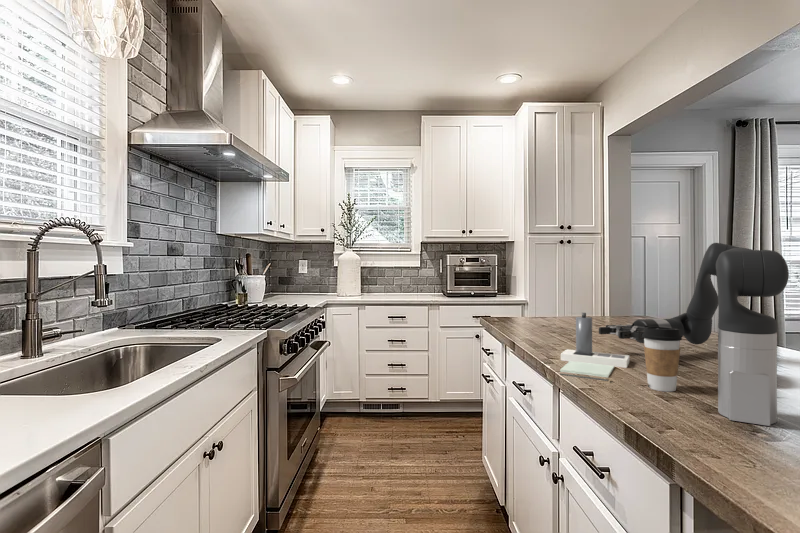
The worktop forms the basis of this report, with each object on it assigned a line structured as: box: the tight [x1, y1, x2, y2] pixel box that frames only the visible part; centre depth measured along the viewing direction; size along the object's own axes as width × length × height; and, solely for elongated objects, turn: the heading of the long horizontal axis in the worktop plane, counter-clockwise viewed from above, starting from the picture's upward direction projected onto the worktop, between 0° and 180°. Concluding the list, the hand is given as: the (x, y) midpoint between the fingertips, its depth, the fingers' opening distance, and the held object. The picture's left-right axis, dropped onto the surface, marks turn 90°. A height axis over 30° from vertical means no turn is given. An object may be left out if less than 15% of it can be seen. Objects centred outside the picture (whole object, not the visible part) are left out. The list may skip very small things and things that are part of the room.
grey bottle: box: [575, 312, 593, 356], centre depth 133 cm, size 5×5×14 cm
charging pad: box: [559, 361, 615, 382], centre depth 122 cm, size 12×12×2 cm
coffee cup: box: [642, 327, 683, 393], centre depth 107 cm, size 8×8×15 cm
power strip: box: [560, 348, 630, 369], centre depth 130 cm, size 8×24×3 cm, turn 57°
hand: (609, 332), depth 136 cm, fingers open, 8 cm apart
